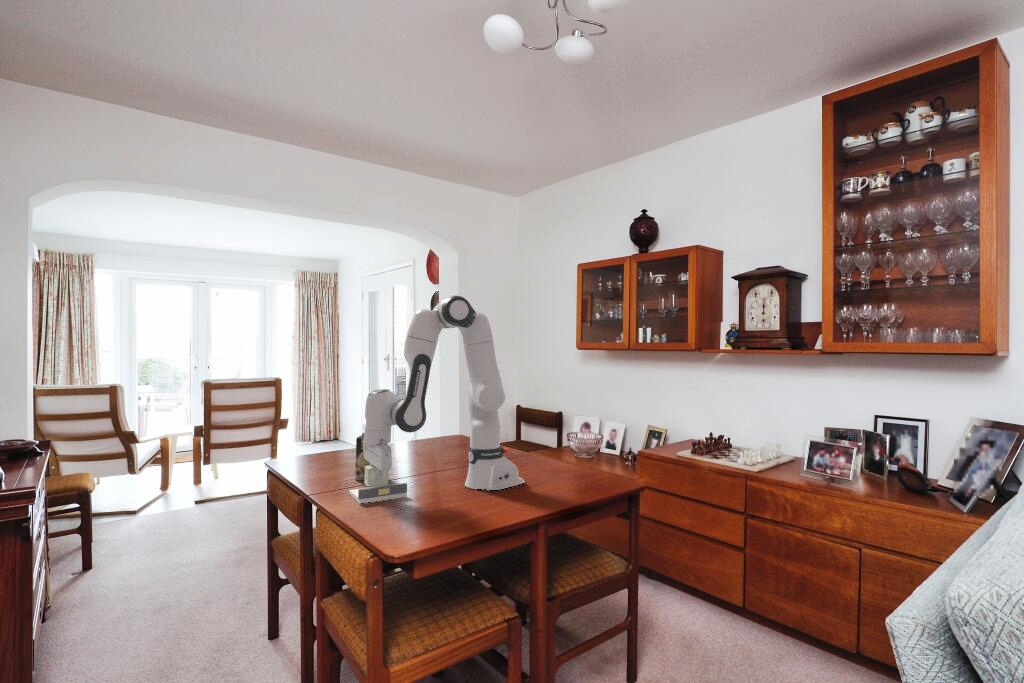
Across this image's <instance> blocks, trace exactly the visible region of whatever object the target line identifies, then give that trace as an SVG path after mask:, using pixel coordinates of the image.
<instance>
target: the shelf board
mask: <svg viewBox="0 0 1024 683" xmlns="http://www.w3.org/2000/svg"><path fill="white" fill-rule="evenodd" d="M348 492H349V493H348V494H350V495H351V496H352V497H353V498H354V499H355V500H356V501H357V502H358V503H359V504H358V503H357V502H356V501H355V500H354V499H353V498H352V497H351V496H350V495H349V496H350V497H351V498H352V499H353V500H354V501H355V502H356V503H357V504H358V505H361V504H360V503H364V504H369V503H368V502H371V503H377V502H383V500H384V501H390V500H389V499H391V500H397V499H403V498H402V497H404V498H407V497H408V496H407V495H408V483H407V482H401V483H394V484H393V483H392V484H386V485H378V486H370V487H362V488H356V489H349V490H348ZM396 498H397V499H396ZM376 501H377V502H376Z"/></svg>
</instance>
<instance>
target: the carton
mask: <svg viewBox="0 0 1024 683" xmlns="http://www.w3.org/2000/svg"><path fill="white" fill-rule="evenodd" d="M389 473H390V472H389V470H384V472H383V479H382V480H377V479H376V474H377V467H376V466H374V465H372V466H365V477H364V480H363V483H364V485H365V486H366V488H369V487H376V486H384V485H389V475H390V474H389Z"/></svg>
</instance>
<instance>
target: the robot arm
mask: <svg viewBox="0 0 1024 683" xmlns="http://www.w3.org/2000/svg"><path fill="white" fill-rule="evenodd" d="M454 328H457V329H458V330H459V331H460V334H461V335H462V342H463V343H462V344H463V349H464V350H463V351H464V356H465V363H466V369H467V371H468V375H469V379H470V383H471V384H470V386H469V388H468V412H469V426H470V429H469V431H470V432H469V433H470V435H469V446H468V469H467V470H468V471H467V476H466V479H465V483H464V486H465V487H467V488H468V489H472V490H477V489H482V490H481V491H490V490H500V489H504V488H508V487H511V486H515V485H519V484H522V483H525V484H526V482H525V479H523V478H522V477H520V475H519V469H518V467H517V465H516V464H514V463H513V462H512V461H511V460H510V459H508V458H507V456H505V455H504V454H509V453H510V449H509V448H508V447H502V446H501V424H500V423H501V422H500V418H499V409H500V408H501V407H502V406H503V405H504V403H505V400H506V394H505V391H504V387H503V382H502V378H501V377H502V376H501V374H500V370H499V367H498V363H497V362H498V361H497V358H496V350H495V344H494V337H493V333H492V332H493V331H492V328H491V326H490V321H489V319H488V317H487V316H486V314H485V313H482V312H481V313H480V312H477V311H475V309H474V307H473V306H472V304H470V301H468V299H466V298H465V297H464V296H460V295H451V296H448V297H445V298H443V299H442V300H441V301H439V302H437V303H436V305H434V307H432V309H427V308H426V309H419V310H418V311H416V312H415V313H414V315H413V317H412V319H411V322H410V324H409V327H408V330H407V333H406V337H405V341H404V348H403V357H404V360H406V362H407V365H408V368H409V379H408V384H407V388H406V394H405V397H403V396H400V395H398V394H396V393H394V392H393V391H391V390H390V389H387V388H383V389H377V390H376V389H375V390H372V391H371V392H369V393H368V395H367V396H366V399H365V400H366V401H365V408H364V410H365V411H364V417H365V418H364V419H365V425H364V431H363V432H362V433H361V435H362V439H363V455H364V459H365V460H367V461H368V462H370V466H372V465H374V466H376V467H377V474H376V479H377V480H382V479H383V472H384V470H391V469H392V466H393V458H392V447H391V446H390V445H388V444H390V443H391V442H392V427H393V426H397V427H398V428H399V429H400V430H401V431H403V432H404V433H414V432H415V433H416V432H417V431H419V430H420V429H421V428H423V426H425V423H426V421H427V410H426V406H425V405H426V395H427V390H428V385H429V384H428V383H429V378H430V373H431V368H432V364H433V361H434V360H433V359H434V357H435V354H436V350H437V345H438V342H439V335H440V334H441V332H442V330H443V329H454ZM484 489H486V490H484ZM508 489H509V488H508ZM504 490H505V489H504ZM500 491H501V490H500Z"/></svg>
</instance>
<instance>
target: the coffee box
mask: <svg viewBox="0 0 1024 683" xmlns="http://www.w3.org/2000/svg"><path fill="white" fill-rule="evenodd" d="M355 444H356V445H355V469H354V470H355V473H354V480H355V481H364V477H365V466H370V462H368V461H367V460H365V459H364V455H363V439H362V434H361V435H359V436H357V437H356V441H355Z"/></svg>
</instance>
